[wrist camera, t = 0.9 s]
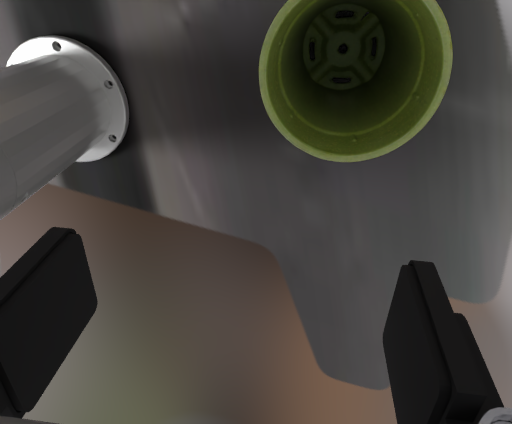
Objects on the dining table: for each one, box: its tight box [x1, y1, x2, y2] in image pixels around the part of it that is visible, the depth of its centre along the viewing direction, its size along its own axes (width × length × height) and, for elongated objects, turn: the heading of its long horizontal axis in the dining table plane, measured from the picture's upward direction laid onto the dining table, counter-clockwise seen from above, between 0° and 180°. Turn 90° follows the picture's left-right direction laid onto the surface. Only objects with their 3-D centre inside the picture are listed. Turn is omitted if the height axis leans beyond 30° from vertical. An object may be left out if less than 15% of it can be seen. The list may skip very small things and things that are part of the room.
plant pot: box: [259, 0, 453, 162], centre depth 30 cm, size 12×12×11 cm
